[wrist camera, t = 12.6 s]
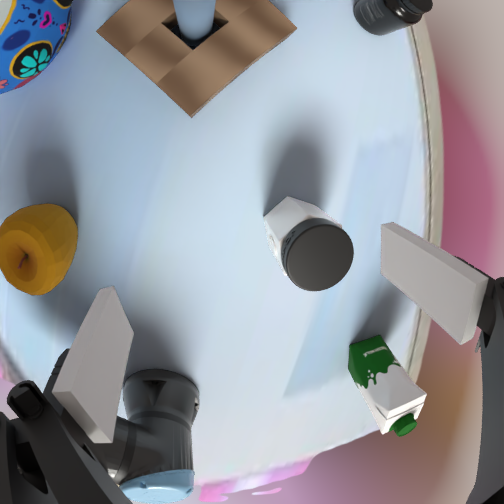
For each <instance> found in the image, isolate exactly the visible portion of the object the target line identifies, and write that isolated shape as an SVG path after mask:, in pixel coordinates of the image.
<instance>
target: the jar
mask: <svg viewBox="0 0 504 504" xmlns="http://www.w3.org/2000/svg"><path fill="white" fill-rule="evenodd" d="M263 220H264V225H265V230H266V235H267V240H268V245H269V248H270V249H271V251H272V253H273V255H274V257H275V259H276V260H277V262H278V264H279V266H280V268H281V270H282V271H283V273H284V275H286V276H288V277H289V278H290V280H291V281H292V282H293V283H294V284H295V285H296V286H298V287H299V288H301V289H304V290H307V291H321V290H325V289H328V288H330V287H332V286H334V285H335V284H337V283H338V282H339V281H341V280H342V279H343V278H344V276H345V275H346V274H347V272H348V271H349V269H350V267H351V264H352V261H353V255H354V249H353V244H352V241H351V239H350V237H349V235H348V234H347V233H346V232H345V231H344V230H343V229H342V225H341V224H340V223H338V222H337V221H336V220H334V219H333V218H332V217H330V216H329V215H328V214H326V213H325V212H324V211H322V210H321V209H320V208H318V207H317V206H316V205H313V204H310V203H307V202H304V201H301V200H298V199H295V198H292V197H289V196H287V197H286V198H284V199H283V200H282V201H281V202H280V203H279V204H278V205H277V206H275V207H274V208H273V209H272V210H271V211H270V212H269V213H268V214H266V215H265V216H264V217H263Z"/></svg>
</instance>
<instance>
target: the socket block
mask: <svg viewBox="0 0 504 504" xmlns="http://www.w3.org/2000/svg"><path fill="white" fill-rule="evenodd" d="M213 22H214V23H215V24H216V25H217V26H218V27H219V28H220V29H219V30H218V31H216V32H215V33H214V34H213V35H211V36H210V37H209V38H207V39H206V40H205V41H204V42H203V43H201V44H200V45H199V46H198V47H196V48H195V49H194V50H192V49H191V48H190V47H188V46H187V45H186V44H185V43H184V42H183V41H182V40H180V39H179V38H178V37H177V36H176V35H175V34H174V33H172V32H171V31H170V30H172V29H173V28H174V27H175V26H176V25H178V20H177V16H176V12H175V8H174V3H173V0H130V1H128V2H127V3H126V4H125V5H124V6H123V7H121V8H120V9H119V10H118V11H117V12H116V13H115V14H114V15H113V16H111V17H110V18H109V19H108V20H107V21H106V22H105V23H104V24H103V25H102V26H101V27H100V28H99V29H98V30H97V31H96V32H97V33H98V34H99V35H100V36H102V37H103V38H104V39H105V40H106V41H107V42H109V43H110V44H111V45H112V46H113V47H114V48H116V49H117V50H118V51H119V52H120V53H121V54H123V55H124V56H125V57H126V58H127V59H128V60H129V61H131V62H132V63H133V64H134V65H135V66H136V67H137V68H138V69H139V70H141V71H142V72H143V73H144V74H145V75H146V76H147V77H148V78H149V79H151V80H152V81H153V82H154V83H155V84H156V85H157V86H158V87H159V88H160V89H161V90H163V91H164V92H165V93H166V94H167V95H168V96H169V97H170V98H171V99H172V100H173V101H174V102H175V103H176V104H178V105H179V106H180V107H181V108H182V109H183V110H184V111H185V112H186V113H187V114H188V115H189V116H190V117H191V118H192V117H193V116H194V115H195V114H196V113H197V112H199V111H200V110H201V109H202V108H203V107H204V106H205V105H206V104H207V103H208V102H209V101H210V100H211V99H213V98H214V97H215V96H216V95H217V94H218V93H219V92H220V91H222V90H223V89H224V88H225V87H226V86H227V85H228V84H230V83H231V82H232V81H233V80H234V79H235V78H237V77H238V76H239V75H240V74H241V73H243V72H244V71H245V70H246V69H248V68H249V67H250V66H251V65H252V64H254V63H255V62H256V61H258V60H259V59H260V58H261V57H263V56H264V55H265V54H267V53H268V52H269V51H270V50H272V49H273V48H274V47H276V46H277V45H278V44H280V43H281V42H283V41H284V40H285V39H287V38H288V37H289V36H290V35H291V34H292V33H293V32H294V31H295V30H296V29H297V27H296V26H295V25H294V24H293V23H292V22H291V21H290V20H289V19H288V18H287V17H286V16H285V15H284V14H283V13H282V12H280V11H279V10H278V9H277V8H276V7H275V6H274V5H273V4H272V3H271V2H270V1H269V0H216V3H215V11H214V19H213Z"/></svg>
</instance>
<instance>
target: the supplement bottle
mask: <svg viewBox="0 0 504 504" xmlns="http://www.w3.org/2000/svg"><path fill="white" fill-rule="evenodd" d="M432 4H433V3H432V0H359V1H358V2H357V3H356V5H355V8H354V13H355V17H356V19H357V21H358V23H359V24H360V25H361V26H362V27H363V28H364V29H365V30H366V31H368V32H369V33H371V34H374V35H386V34H389V33H391V32H394V31H397V30H399V29H402V28H405V27H408V26H411V25H414V24H416V23H418V22H419V21H420V20H421V18H422V15H423V14H424V13H425V12H428V11H430V10H431V9H432V6H433V5H432Z"/></svg>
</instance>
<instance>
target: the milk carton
mask: <svg viewBox="0 0 504 504" xmlns="http://www.w3.org/2000/svg"><path fill="white" fill-rule="evenodd" d="M348 369H349V371H350V374H351V376H352V378H353V380H354V382H355V384H356V385H357V387H358V389H359V391H360V393H361V394H362V396H363V398H364V400H365V402H366V403H367V405H368V407H369V409H370V411H371V413H372V414H373V416H374V418H375V420H376V422H377V424H378V426H379V428H380V430H381V433H382V434H384V433H386V432H389V431H392V430H394V431H395V432H396V434H397V436H399V437H400V436H404V435H406V434H408V433H409V432H411V431H412V430H413V429H414V428H415V427H416V425H417V422H416V421H415V419H416V418H417V417H418V415H419V413H420V411H421V408H422V406H423V404H424V400H425V397H426V393H425V392H424V391H423V390H422V389H421V388H419V387H418V386H417V385H416V384H415V383H414V382H413V381H412V379H411V378H410V377H409V375H408V374H407V372H406V371H405V370H404V368H403V367H402V366H401V364H400V363H399V362H398V360H397V359H396V358H395V356H394V355H393V354H392V352H391V351H390V349H389V348H388V346H387V345H386V343H385V342H384V340H383V339H382V337H381V336H380V335H378V336H375V337H372V338H370V339H367V340H364V341H361V342H358V343H355V344H352V345H350V346H349V364H348Z"/></svg>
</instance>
